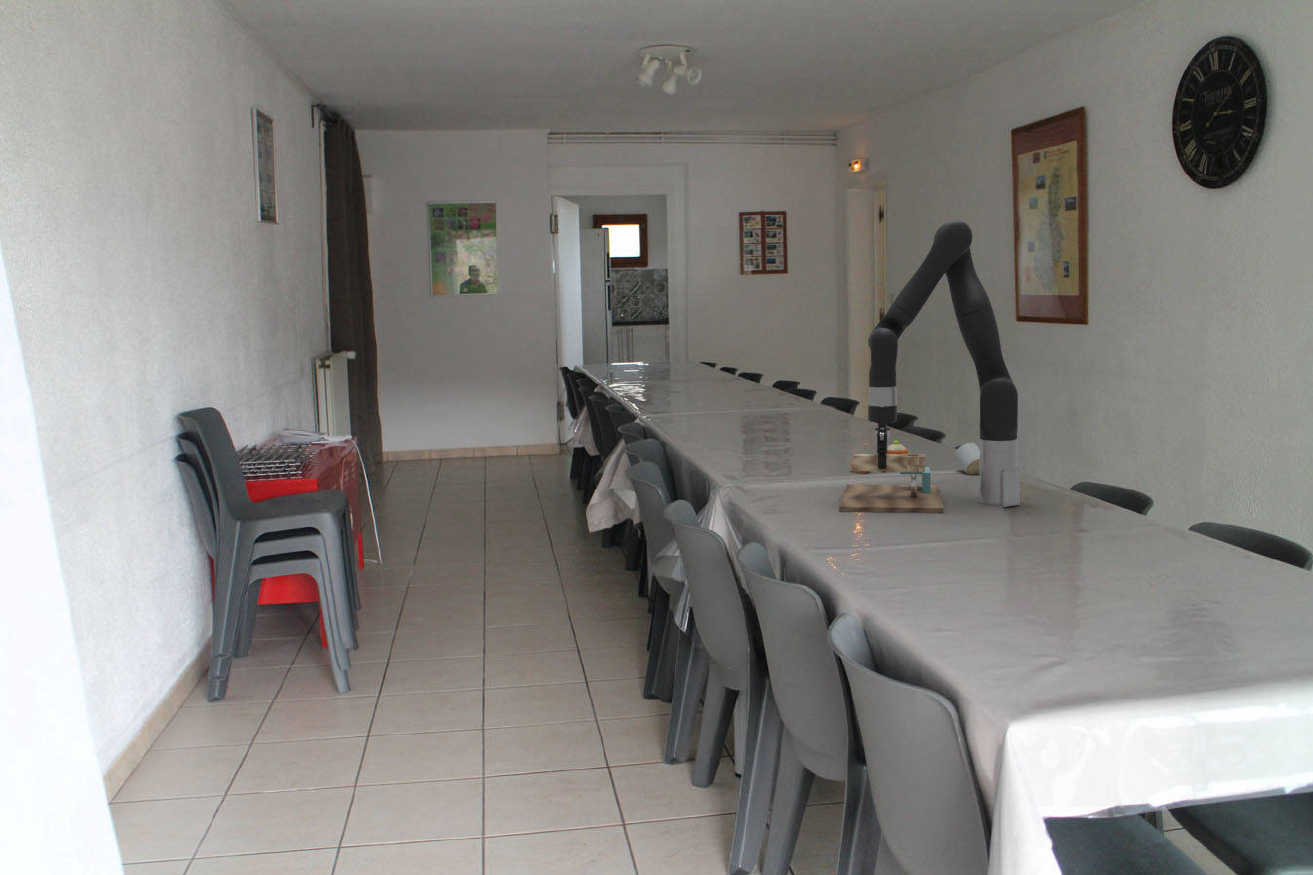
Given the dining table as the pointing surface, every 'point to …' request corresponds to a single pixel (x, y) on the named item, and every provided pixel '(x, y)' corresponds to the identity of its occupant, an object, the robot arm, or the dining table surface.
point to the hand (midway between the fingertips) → (882, 467)
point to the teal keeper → (923, 479)
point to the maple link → (890, 462)
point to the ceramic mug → (969, 458)
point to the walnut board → (890, 499)
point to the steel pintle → (913, 485)
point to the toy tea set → (890, 452)
